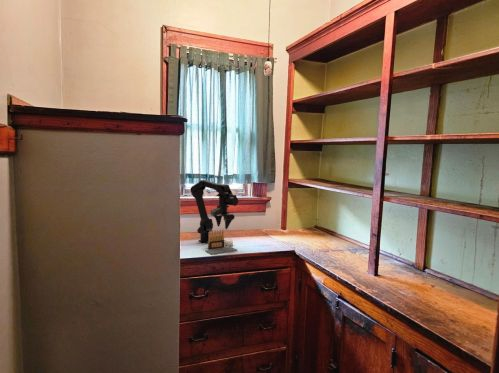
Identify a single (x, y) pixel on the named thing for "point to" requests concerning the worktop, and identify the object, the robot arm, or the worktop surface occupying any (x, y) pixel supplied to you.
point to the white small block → (228, 242)
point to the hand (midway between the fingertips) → (222, 227)
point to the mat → (221, 250)
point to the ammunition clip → (216, 240)
